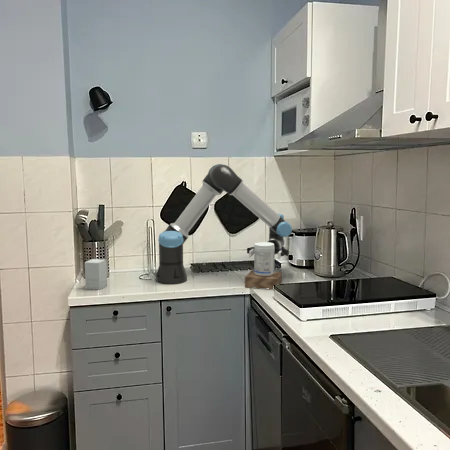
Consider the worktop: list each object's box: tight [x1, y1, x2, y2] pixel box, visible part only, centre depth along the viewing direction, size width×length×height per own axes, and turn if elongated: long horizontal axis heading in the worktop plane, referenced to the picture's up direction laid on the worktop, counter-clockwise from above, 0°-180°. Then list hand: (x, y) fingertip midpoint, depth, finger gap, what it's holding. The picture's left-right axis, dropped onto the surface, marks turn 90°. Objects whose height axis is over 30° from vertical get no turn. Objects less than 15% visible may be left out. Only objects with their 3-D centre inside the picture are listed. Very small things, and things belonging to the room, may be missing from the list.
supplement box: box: [84, 258, 108, 291], centre depth 214 cm, size 7×7×13 cm
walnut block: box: [244, 269, 283, 290], centre depth 221 cm, size 15×14×5 cm
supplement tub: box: [253, 241, 276, 276], centre depth 219 cm, size 10×10×15 cm
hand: (264, 255), depth 217 cm, fingers open, 13 cm apart
